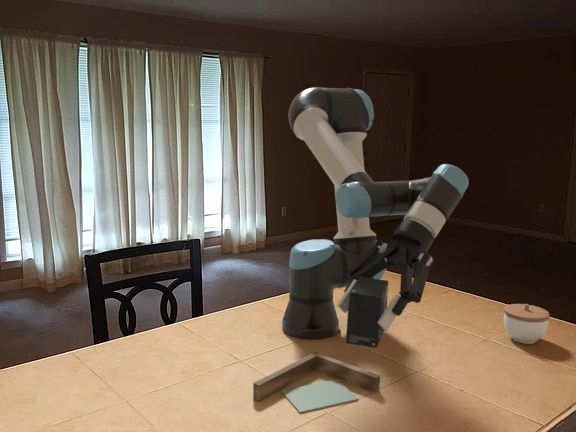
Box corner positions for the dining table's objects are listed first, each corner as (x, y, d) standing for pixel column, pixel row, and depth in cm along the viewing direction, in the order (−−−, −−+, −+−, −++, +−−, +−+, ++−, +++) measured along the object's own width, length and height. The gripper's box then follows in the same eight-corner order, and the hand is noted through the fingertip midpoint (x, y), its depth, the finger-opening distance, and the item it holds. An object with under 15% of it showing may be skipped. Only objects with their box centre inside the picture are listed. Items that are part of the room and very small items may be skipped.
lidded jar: (509, 328, 150) (512, 295, 149) (551, 338, 144) (555, 304, 142) (495, 340, 142) (498, 305, 141) (539, 351, 136) (543, 315, 134)
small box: (379, 349, 103) (382, 296, 101) (344, 344, 105) (347, 291, 103) (387, 328, 113) (390, 279, 111) (355, 324, 115) (357, 275, 113)
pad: (281, 391, 114) (281, 390, 114) (336, 380, 119) (336, 379, 119) (299, 413, 106) (299, 411, 106) (358, 400, 111) (358, 398, 111)
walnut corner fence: (253, 399, 111) (253, 382, 110) (315, 366, 126) (315, 351, 125) (320, 431, 100) (320, 413, 100) (379, 391, 115) (380, 375, 114)
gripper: (473, 251, 107) (415, 347, 100) (385, 230, 124) (331, 310, 118) (459, 228, 102) (397, 326, 96) (369, 209, 120) (312, 291, 114)
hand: (360, 317), depth 107 cm, fingers closed on small box, 10 cm apart
